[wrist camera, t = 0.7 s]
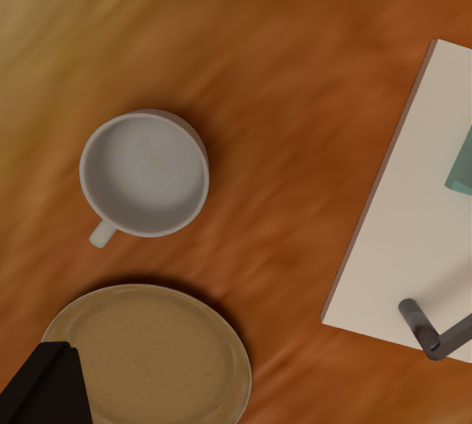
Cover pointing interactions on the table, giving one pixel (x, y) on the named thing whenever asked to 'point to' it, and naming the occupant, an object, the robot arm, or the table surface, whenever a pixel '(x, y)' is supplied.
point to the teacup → (144, 174)
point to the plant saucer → (155, 356)
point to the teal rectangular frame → (462, 169)
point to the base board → (414, 216)
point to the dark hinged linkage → (434, 331)
